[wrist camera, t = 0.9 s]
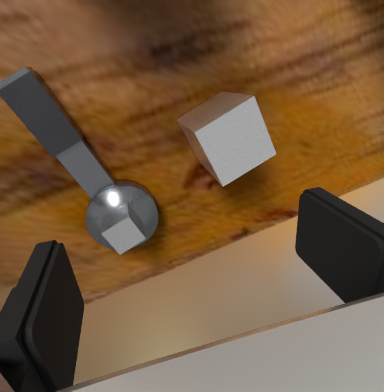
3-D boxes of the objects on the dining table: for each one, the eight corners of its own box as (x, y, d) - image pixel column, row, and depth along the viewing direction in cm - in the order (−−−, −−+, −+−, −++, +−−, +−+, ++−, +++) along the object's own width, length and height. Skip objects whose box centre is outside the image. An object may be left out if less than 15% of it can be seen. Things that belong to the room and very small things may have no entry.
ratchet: (53, 53, 25) (37, 47, 20) (167, 216, 35) (176, 242, 30) (-21, 98, 25) (-58, 104, 20) (114, 249, 35) (113, 281, 30)
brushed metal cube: (221, 91, 30) (254, 95, 23) (242, 137, 33) (276, 154, 26) (176, 119, 30) (194, 132, 23) (200, 163, 33) (223, 186, 26)
